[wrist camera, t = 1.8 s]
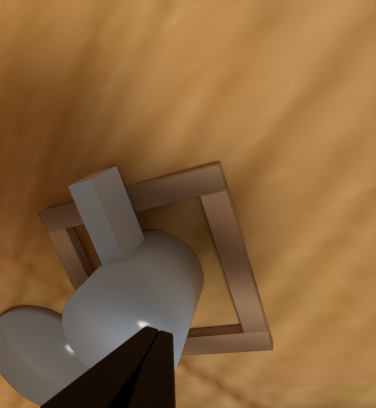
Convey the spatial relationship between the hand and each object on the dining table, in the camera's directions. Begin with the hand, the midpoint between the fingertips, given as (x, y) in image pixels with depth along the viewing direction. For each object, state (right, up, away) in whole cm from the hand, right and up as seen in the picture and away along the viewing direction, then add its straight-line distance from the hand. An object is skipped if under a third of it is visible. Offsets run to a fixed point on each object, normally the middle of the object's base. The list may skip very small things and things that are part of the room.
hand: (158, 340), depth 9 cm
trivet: (-11, -10, +18) cm, 23 cm away
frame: (-1, -1, +12) cm, 12 cm away
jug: (-2, +1, +11) cm, 12 cm away
